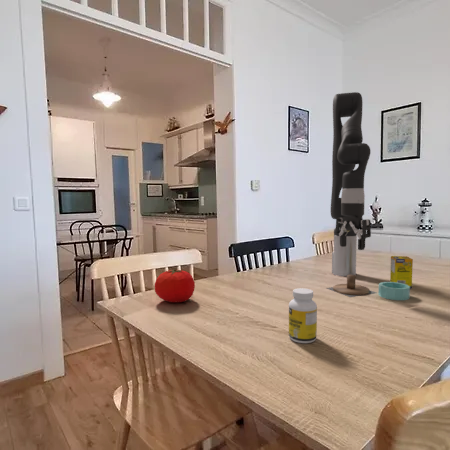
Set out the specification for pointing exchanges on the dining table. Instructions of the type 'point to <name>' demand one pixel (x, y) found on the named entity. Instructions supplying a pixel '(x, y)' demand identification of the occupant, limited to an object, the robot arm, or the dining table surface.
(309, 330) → the pill bottle
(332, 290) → the mat
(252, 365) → the dining table surface
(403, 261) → the supplement box
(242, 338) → the dining table surface
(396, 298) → the bowl
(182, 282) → the tomato
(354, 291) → the lid
